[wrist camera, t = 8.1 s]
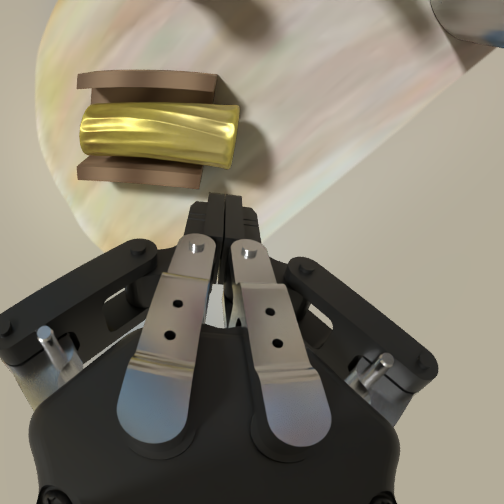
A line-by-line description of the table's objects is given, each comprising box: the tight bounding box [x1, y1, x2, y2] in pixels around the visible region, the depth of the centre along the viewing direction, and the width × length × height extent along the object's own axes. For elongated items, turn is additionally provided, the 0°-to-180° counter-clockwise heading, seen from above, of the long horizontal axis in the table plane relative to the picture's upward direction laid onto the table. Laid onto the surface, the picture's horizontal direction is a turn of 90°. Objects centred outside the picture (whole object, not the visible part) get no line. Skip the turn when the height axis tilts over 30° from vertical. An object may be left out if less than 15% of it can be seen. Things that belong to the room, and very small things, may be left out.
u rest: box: [77, 70, 218, 189], centre depth 24 cm, size 13×11×4 cm
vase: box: [79, 102, 240, 169], centre depth 24 cm, size 6×6×14 cm
